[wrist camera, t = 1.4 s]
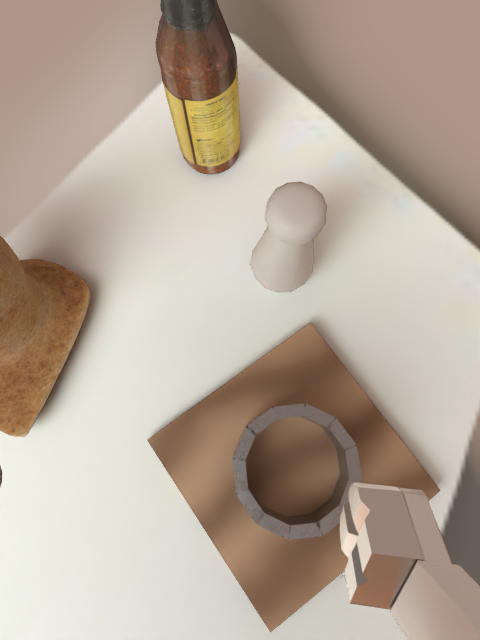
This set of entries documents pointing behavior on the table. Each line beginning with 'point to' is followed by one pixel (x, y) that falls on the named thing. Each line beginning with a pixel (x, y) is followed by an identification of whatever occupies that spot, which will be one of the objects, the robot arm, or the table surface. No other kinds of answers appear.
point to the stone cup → (34, 333)
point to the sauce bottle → (200, 82)
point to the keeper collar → (327, 512)
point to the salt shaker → (289, 237)
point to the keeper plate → (281, 468)
